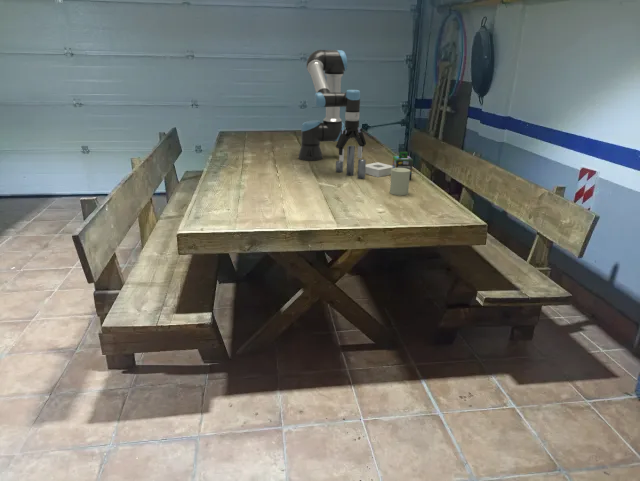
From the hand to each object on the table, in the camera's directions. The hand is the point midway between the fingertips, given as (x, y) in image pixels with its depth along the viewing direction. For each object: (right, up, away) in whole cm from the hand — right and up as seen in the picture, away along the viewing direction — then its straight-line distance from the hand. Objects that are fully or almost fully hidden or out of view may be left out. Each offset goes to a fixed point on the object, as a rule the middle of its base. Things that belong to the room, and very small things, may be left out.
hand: (350, 159), depth 268 cm
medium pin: (+6, -11, -3) cm, 12 cm away
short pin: (-6, -5, +10) cm, 13 cm away
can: (+22, -21, -29) cm, 42 cm away
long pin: (0, -8, +4) cm, 9 cm away
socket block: (+16, -6, +9) cm, 19 cm away
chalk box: (+28, -11, -1) cm, 30 cm away
